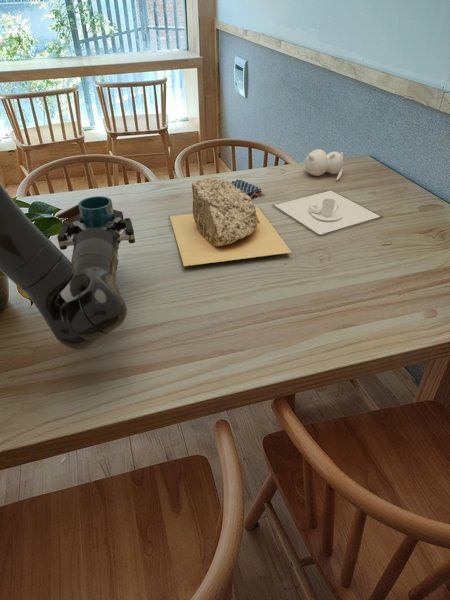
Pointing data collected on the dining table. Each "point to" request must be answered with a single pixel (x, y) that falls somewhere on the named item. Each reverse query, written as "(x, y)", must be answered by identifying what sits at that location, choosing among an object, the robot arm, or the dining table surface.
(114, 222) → the robot arm
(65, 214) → the tray
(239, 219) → the rock
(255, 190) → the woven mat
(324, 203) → the teacup and saucer
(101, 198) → the cup
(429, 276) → the dining table surface
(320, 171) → the cat figurine
